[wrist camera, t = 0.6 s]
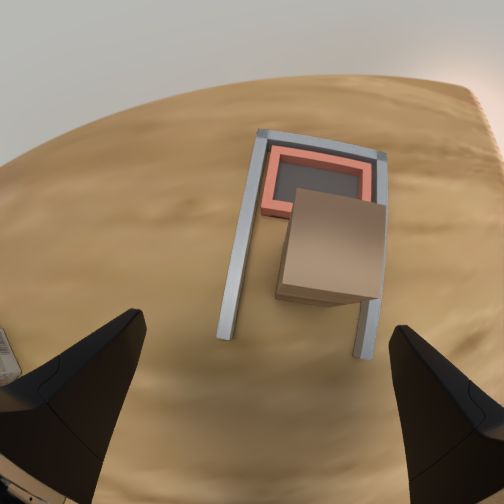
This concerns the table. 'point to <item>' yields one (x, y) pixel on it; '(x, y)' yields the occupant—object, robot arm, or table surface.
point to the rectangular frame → (311, 178)
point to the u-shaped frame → (247, 216)
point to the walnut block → (332, 250)
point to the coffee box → (7, 362)
